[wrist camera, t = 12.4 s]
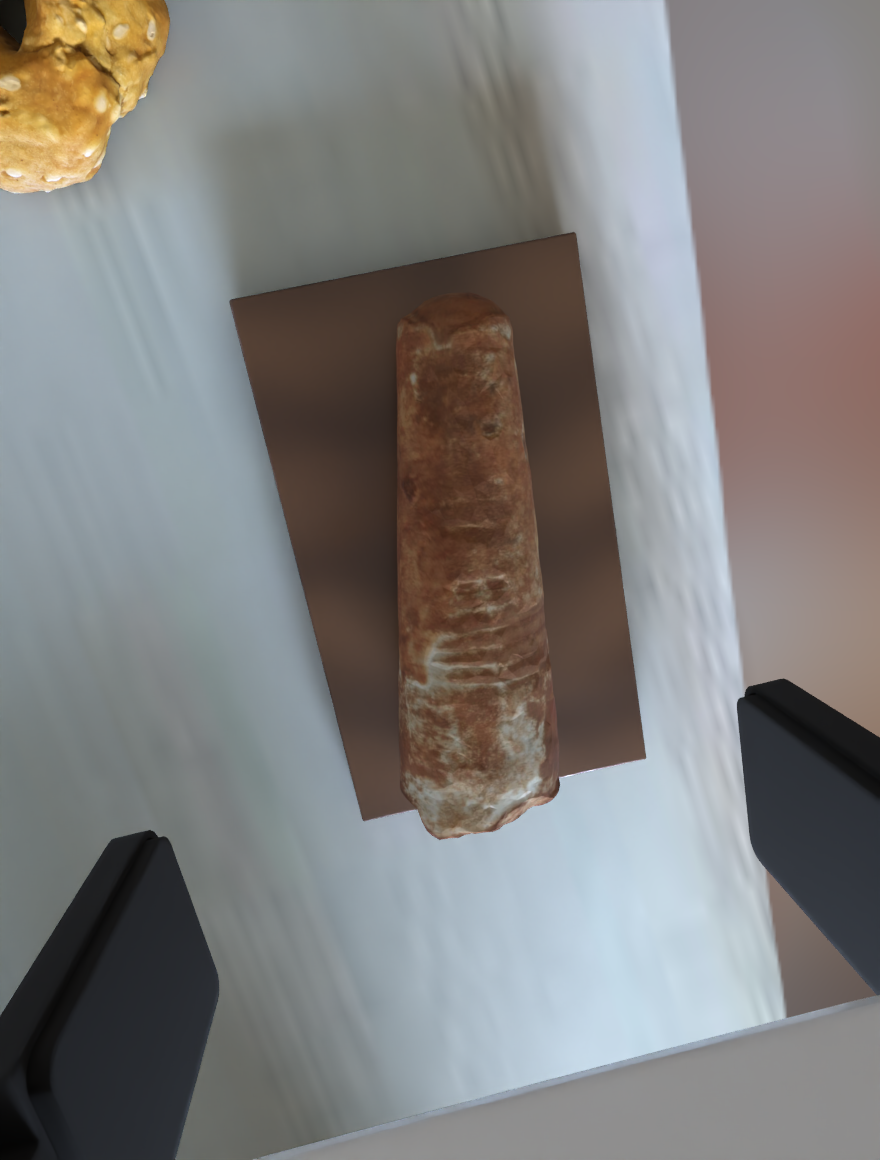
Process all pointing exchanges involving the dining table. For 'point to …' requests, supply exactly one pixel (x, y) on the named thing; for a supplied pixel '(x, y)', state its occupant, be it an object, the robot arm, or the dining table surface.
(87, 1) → the bagel
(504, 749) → the bread
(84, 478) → the dining table surface
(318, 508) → the bread board
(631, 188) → the dining table surface
